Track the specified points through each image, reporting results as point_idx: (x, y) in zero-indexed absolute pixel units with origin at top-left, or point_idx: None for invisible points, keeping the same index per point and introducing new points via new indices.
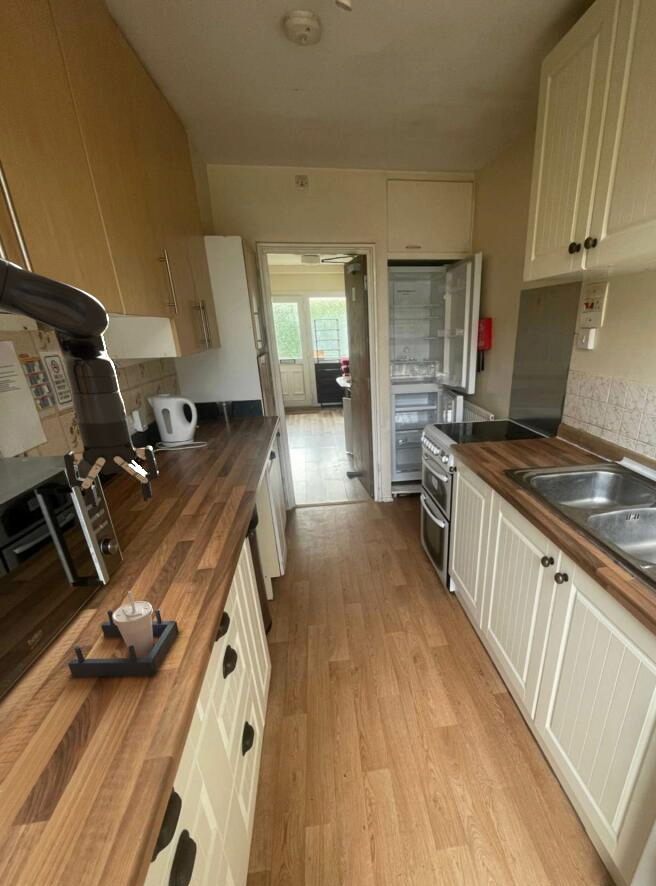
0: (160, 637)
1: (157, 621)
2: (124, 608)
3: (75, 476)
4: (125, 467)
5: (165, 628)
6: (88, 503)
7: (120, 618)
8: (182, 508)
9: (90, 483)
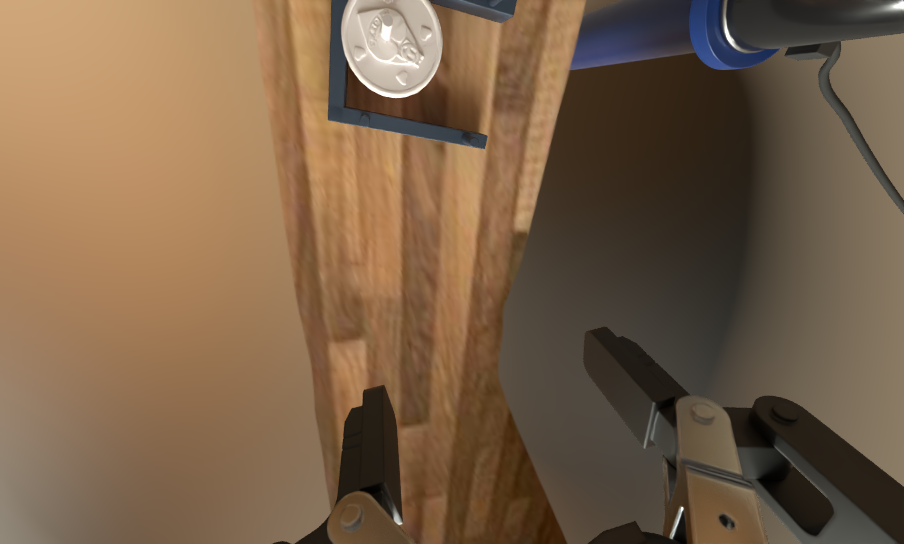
0: (343, 52)
1: (367, 115)
2: (418, 58)
3: (816, 467)
4: None
5: (344, 91)
6: (627, 339)
7: (414, 6)
8: (449, 512)
9: (684, 431)
